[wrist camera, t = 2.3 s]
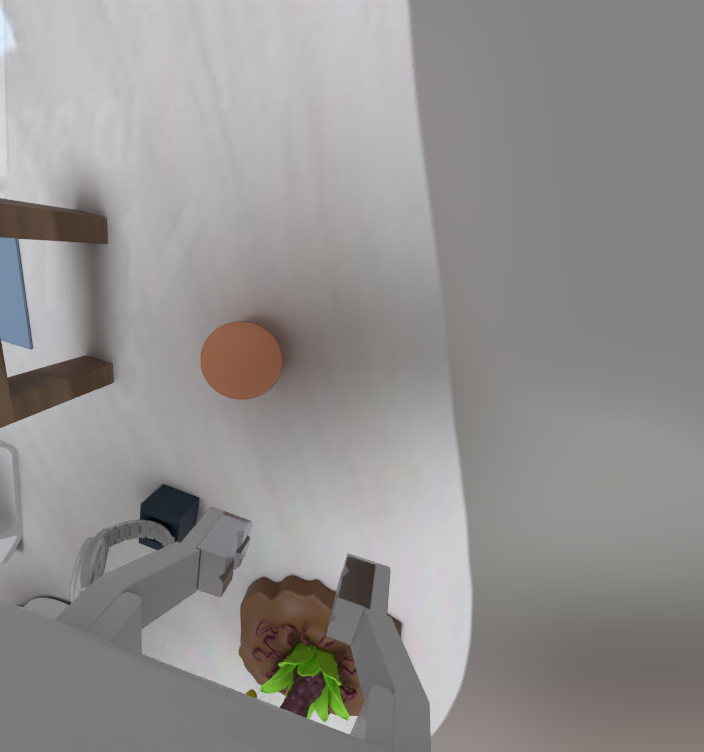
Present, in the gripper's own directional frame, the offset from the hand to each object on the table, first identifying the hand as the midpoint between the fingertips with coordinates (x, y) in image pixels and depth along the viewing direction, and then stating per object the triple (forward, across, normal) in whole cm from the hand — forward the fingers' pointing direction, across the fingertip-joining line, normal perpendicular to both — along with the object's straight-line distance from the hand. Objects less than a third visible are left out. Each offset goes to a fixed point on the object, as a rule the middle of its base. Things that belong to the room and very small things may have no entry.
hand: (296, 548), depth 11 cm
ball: (+14, -10, 0) cm, 17 cm away
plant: (+18, +3, -34) cm, 38 cm away
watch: (+17, -16, -21) cm, 32 cm away
